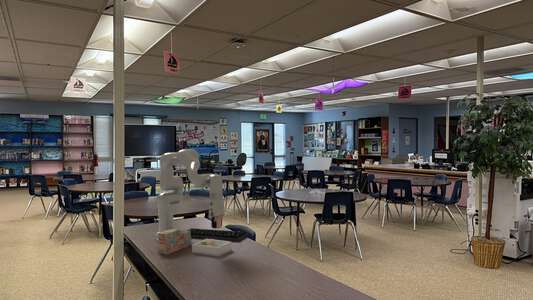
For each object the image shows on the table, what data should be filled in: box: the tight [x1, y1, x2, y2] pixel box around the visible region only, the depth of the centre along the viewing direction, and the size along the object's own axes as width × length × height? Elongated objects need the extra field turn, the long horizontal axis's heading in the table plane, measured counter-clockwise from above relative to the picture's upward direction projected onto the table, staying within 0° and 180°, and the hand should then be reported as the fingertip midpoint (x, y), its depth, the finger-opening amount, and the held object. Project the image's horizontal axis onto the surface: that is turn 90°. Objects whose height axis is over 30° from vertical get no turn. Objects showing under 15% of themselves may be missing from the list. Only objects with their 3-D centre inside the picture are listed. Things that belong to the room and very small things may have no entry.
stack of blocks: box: [157, 228, 192, 255], centre depth 222 cm, size 21×6×12 cm, turn 150°
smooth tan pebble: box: [213, 215, 222, 230], centre depth 213 cm, size 5×5×7 cm
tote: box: [191, 239, 232, 257], centre depth 215 cm, size 18×14×5 cm
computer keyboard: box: [186, 227, 249, 243], centre depth 250 cm, size 45×16×4 cm, turn 70°
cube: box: [199, 239, 212, 247], centre depth 217 cm, size 5×5×5 cm
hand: (216, 226), depth 213 cm, fingers closed on smooth tan pebble, 4 cm apart
